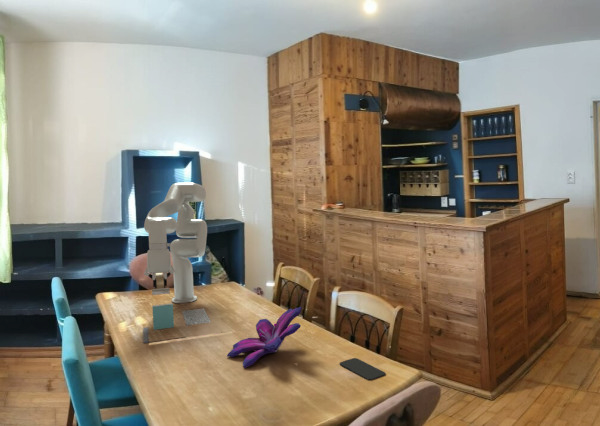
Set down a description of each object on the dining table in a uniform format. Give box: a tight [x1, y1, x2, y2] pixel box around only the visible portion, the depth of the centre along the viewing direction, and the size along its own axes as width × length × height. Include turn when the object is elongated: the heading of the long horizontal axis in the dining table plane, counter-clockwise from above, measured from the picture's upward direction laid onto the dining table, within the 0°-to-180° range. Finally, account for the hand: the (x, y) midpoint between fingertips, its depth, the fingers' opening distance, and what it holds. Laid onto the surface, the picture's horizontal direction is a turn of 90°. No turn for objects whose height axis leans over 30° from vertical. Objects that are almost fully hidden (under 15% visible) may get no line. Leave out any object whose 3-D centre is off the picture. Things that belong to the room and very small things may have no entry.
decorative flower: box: [226, 306, 303, 369], centre depth 157 cm, size 31×31×10 cm
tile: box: [151, 302, 175, 330], centre depth 184 cm, size 2×8×10 cm, turn 109°
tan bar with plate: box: [151, 272, 171, 296], centre depth 197 cm, size 18×7×6 cm, turn 19°
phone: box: [339, 357, 387, 381], centre depth 141 cm, size 7×1×15 cm
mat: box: [142, 327, 186, 344], centre depth 181 cm, size 18×16×1 cm
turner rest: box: [181, 308, 211, 326], centre depth 199 cm, size 22×10×1 cm, turn 19°
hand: (160, 287), depth 198 cm, fingers closed on tan bar with plate, 3 cm apart
